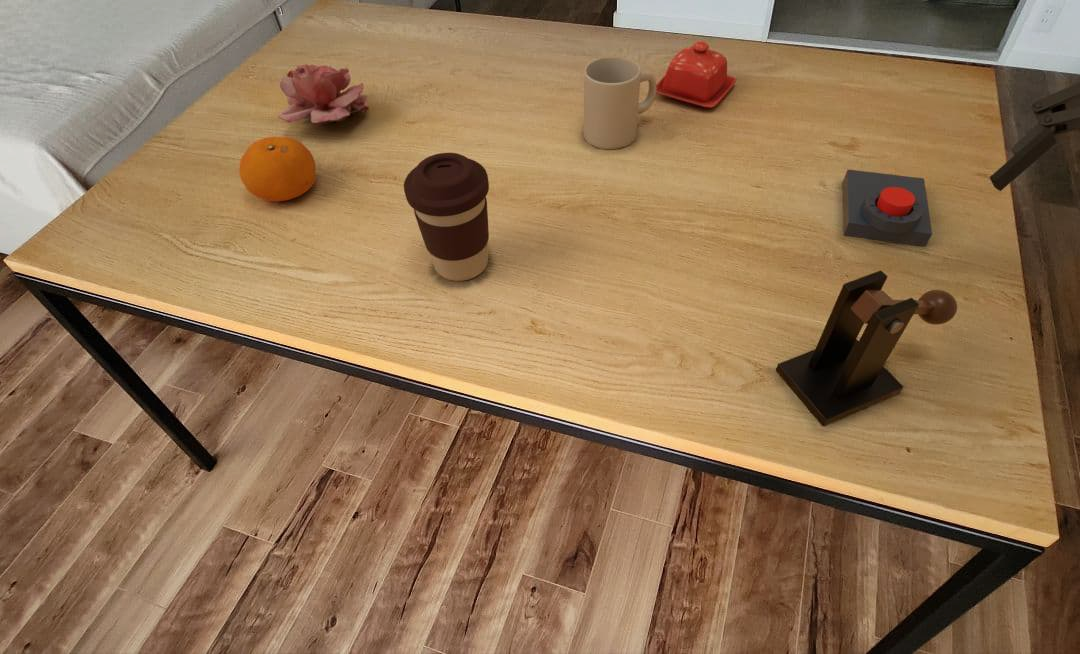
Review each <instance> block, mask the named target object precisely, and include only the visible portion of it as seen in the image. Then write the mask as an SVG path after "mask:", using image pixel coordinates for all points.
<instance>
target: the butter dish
mask: <svg viewBox="0 0 1080 654" xmlns="http://www.w3.org/2000/svg"><path fill="white" fill-rule="evenodd" d="M736 82H737V78H735V76H731V75H728V58H727V57H726V56H725V55H723V54H722V53H721V52H718V51H716V50H713V49H710V46H709V44H708V43H707V42H705V41H701V40H699V41H696V42H694V43H693V44H692V46H688V47H685V48H683V49H681V50H680V51H679V52H677V53H676V54H675V55H674V57H673V58H672V59H671V61H670V62H669V64H668V66H667V70H666V73H665V75H664V76H663V77H662V78H661V79H660V80H659V81H658V82H657V83H656V94H658V95H661V96H664V97H668V98H673V99H676V100H679V101H681V102H682V101H683V102H686V103H689V104H692V105H696V106H700V107H703V108H709V109H711V108H714V107H715V106H717V105H718V104H719V103H720V101H721V100H722V99H723V98H725V96H726V95H727V94H728V92H729V91H730V90H731V89H732V88H733V87H734V85H735V84H736Z"/></svg>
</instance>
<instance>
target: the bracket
mask: <svg viewBox="0 0 1080 654" xmlns="http://www.w3.org/2000/svg"><path fill="white" fill-rule="evenodd" d="M887 279H888V275H887V274H886V273H885V272H883V271H882V270H878V271H875V272H873V273H870V274H867V275H864V276H861V277H859V278H857V279H852V280H851V281H847V282H845V283H843V285H842V287H841V289H840V292H839V294H838V296H837V298H836V300H835V303H834V305H833V307H832V310H831V312H830V314H829V317H828V319H827V321H826V323H825V325H824V328H823V331H822V333H821V335H820V337H819V339H818V342H817V345H816V346H815V349H812V350H811V351H807V352H804V353H802V354H799V355H797V356H794V357H792V358H790V359H787V360H784V361H781V362H779V363H778V364H777V365H776V369H775V372H776V373H777V374H778V375H779V376H780V377H781V378H782V380H783V381H784V382H785V383H786V384H787V385H788V387H789V388H790V389H791V390H792V392H793V393H794V394H795V395H796V396H797V397H798V399H799V400H800V401H801V402H802V403H803V405H804V406H805V407H806V408H807V409H808V411H810V413H811V414H812V415H813V417H815V419H816V420H817V421H818V422H819V424H820V425H821V426H822V427H824V426H827V425H829V424H832V423H834V422H836V421H838V420H841V419H843V418H845V417H848V416H850V415H852V414H854V413H857V412H859V411H862V410H864V409H866V408H868V407H871V406H873V405H876V404H878V403H881V402H882V401H885V400H887V399H890V398H893V397H894V396H897V395H899V394H901V393H902V391H903V389H904V387H905V386H904V385H903V384H902V383H901V382H900V381H899V380H898V379H897V378H896V377H895V376H894V375H893V374H892V373H891V372H890V371H889V370H888V369H887V368H886V367H885V364H886V362H887V360H888V359H889V357H890V356H891V354H892V352H893V350H895V347H896V345H897V344H898V342H899V341H900V338H901V337H902V335H903V333H904V332H905V330H906V328H907V327H908V325H909V323H910V321H911V320H912V318H913V316H914V315H915V314H914V313H915V311H916V309H917V308H918V306H919V304H918V303H917V302H916V301H915V300H916V299H914V298H913V297H909V298H907V299H903V300H904V301H902V302H899V303H896V304H894V305H891V306H889V307H886V308H884V309H881V310H878V311H876V312H874V313H873V314H872V316H871V318H870V320H869V322H868V324H866V326H865V328H864V329H863V327H864V325H865V323H864V322H863V321H862V320H861V319H860V318H859V317H858V316H857V315H856V314H855V313H854V312H853V311H852V310H851V309H850V308H851V307H852V306H853V305H854V303H855V302H856V301H857V300H858V299H859V297H860V296H861V295H862V294H863V293H864V292H865V290H882V289H883V287H884V285H885V283H886V281H887ZM862 329H863V330H864V331H863V332H862V334H861V336H860V338H859V340H858V336H859V335H860V333H861V331H862Z"/></svg>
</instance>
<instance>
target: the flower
mask: <svg viewBox="0 0 1080 654" xmlns="http://www.w3.org/2000/svg"><path fill="white" fill-rule="evenodd" d="M349 71H350V70H349V68H348V67H347V66H346V67H345V68H340V69H338V70H337V69H335V68H332V65H330V66H329V65H314V64H310V65H308V64H307V63H306V64H301V65H296V68H295V69H294V70H293V69H291V70H289V71H288V73H287V75H283V76H282V78H281V79H280V81H279V87H280V90H281V92H282V93H283V94H284V95H285V96H286V101H287V103H288V105H289V106H288V107H287V108H285V109H284V110H282V111H281V112H280V113H279V114H278V119H280V120H282V121H286V122H288V123H293V122H299V121H302V120H307V119H308V118H310V121H311V123H312V124H324V123H334V124H336V122H342V121H344V120H345V119H347V118H348V117H349V116H350V115H351V113H356V112H358V111H361V113H366V112H367V111H368V110H369V109H370V107H369V106H368V104H365V103H366V102H367V100H368V98H369V96H368V95H367V94H362V92H363V91H364V87H365V86H364V83H363V82H361V83H359V84H357V85H356V84H355V85H353V86H350V87H349V88H347V87H348V86H349V85H350V83H351V80H352V78H351V75H350V73H349ZM345 89H346V90H345Z"/></svg>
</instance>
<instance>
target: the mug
mask: <svg viewBox="0 0 1080 654" xmlns="http://www.w3.org/2000/svg"><path fill="white" fill-rule="evenodd" d="M646 81H648V91H647V95H646V98H645V99H644V100H642V101H641V102H640V92H641V91H640V89H641V88H640V87H641V83H643V82H646ZM656 85H657V79H656V75H655V74H654V73H653V71H651V70H649V69H645V70H644V69H643V70H641V67H640V66H639V64H638V63H637V62H635V61H633V60H632V59H630V58H626V57H621V56H619V57H618V56H606V57H600V58H597V59H594V60H592V61H590V62H588V63H587V65H586V66H585V68H584V70H583V131H582V132H583V139H584V140H585V141H586V142H587V143H588V144H589V145H590V146H592V147H594V148H596V149H602V150H619V149H622V148H626V147H627V146H629V145H631V144H632V143H634V141H635V139H636V137H637V133H638V119H639V114H642V113H644V112H647V111H648V110H649V109H650V108H651V107H652V106H653V104H654V102H655V99H656V94H657V93H656Z"/></svg>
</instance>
